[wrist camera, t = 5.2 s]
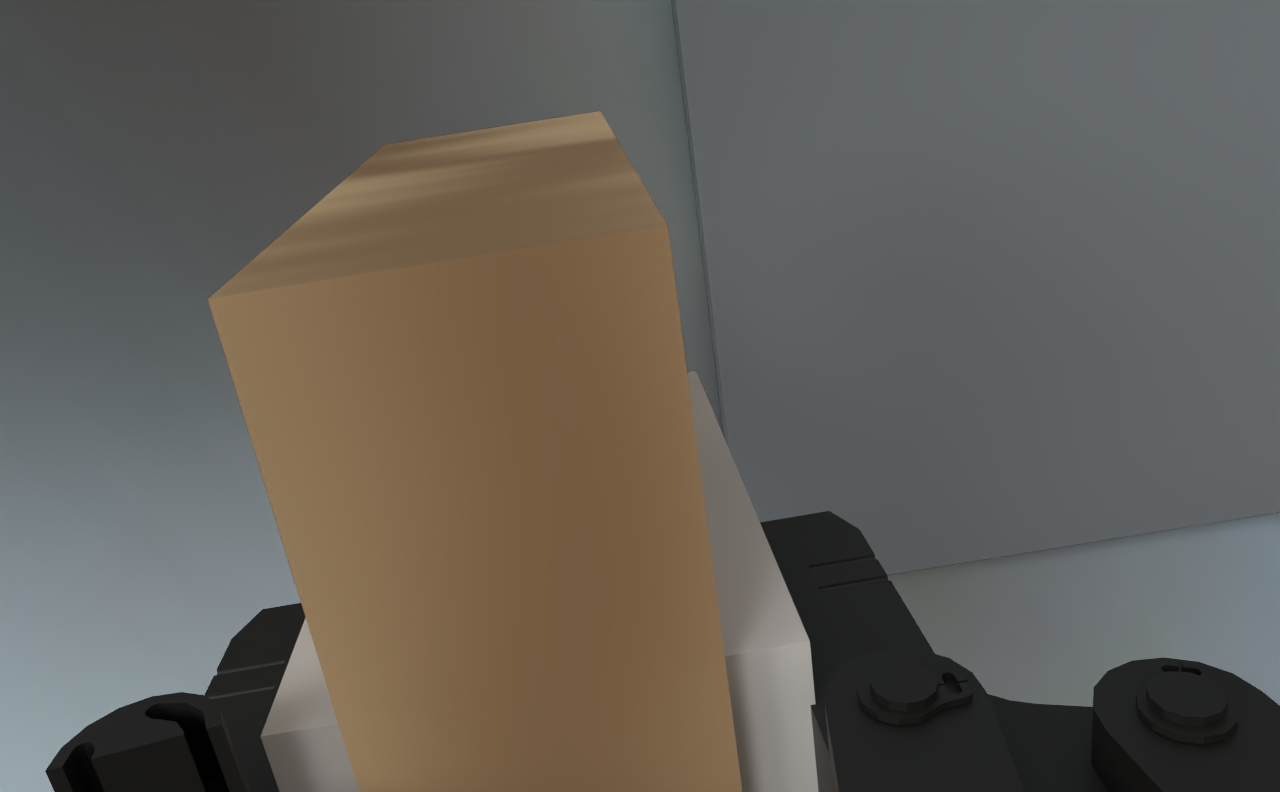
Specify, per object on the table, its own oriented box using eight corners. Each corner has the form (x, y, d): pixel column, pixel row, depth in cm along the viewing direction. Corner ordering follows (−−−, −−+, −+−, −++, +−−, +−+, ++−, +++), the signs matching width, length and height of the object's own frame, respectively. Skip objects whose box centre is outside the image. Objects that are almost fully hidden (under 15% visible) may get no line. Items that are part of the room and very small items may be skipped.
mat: (741, 581, 26) (746, 597, 25) (669, -13, 21) (674, -14, 20) (1514, 457, 26) (1541, 469, 25) (1624, -156, 21) (1662, -162, 20)
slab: (517, 727, 18) (502, 1254, 10) (385, 144, 14) (208, 299, 7) (688, 697, 18) (795, 1196, 10) (600, 110, 14) (667, 225, 7)
